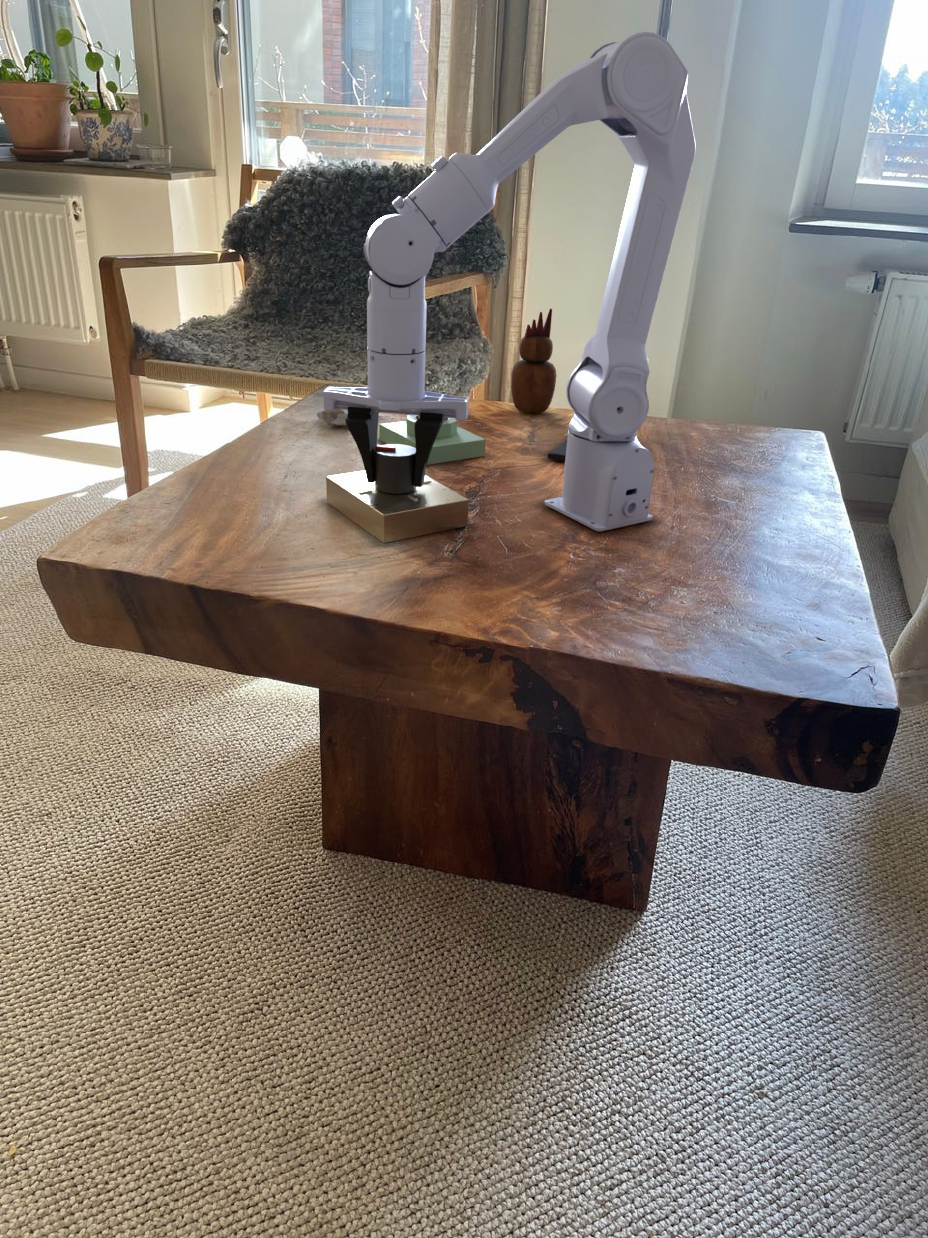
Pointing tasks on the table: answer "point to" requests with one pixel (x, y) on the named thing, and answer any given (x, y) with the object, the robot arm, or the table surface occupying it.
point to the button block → (436, 440)
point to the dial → (395, 468)
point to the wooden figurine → (534, 369)
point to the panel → (397, 507)
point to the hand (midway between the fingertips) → (395, 481)
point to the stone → (333, 416)
